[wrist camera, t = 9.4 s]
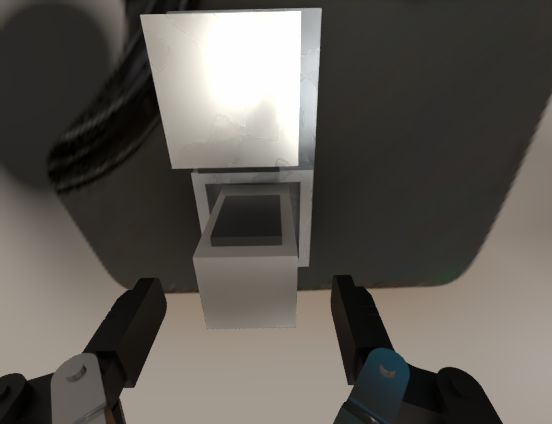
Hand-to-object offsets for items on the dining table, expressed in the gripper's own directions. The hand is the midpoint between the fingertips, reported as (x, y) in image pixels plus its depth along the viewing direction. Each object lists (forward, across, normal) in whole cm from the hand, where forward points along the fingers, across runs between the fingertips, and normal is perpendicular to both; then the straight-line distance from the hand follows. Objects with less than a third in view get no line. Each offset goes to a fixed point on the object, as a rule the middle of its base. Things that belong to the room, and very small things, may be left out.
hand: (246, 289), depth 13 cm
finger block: (+8, 0, 0) cm, 8 cm away
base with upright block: (+9, 0, -4) cm, 10 cm away
